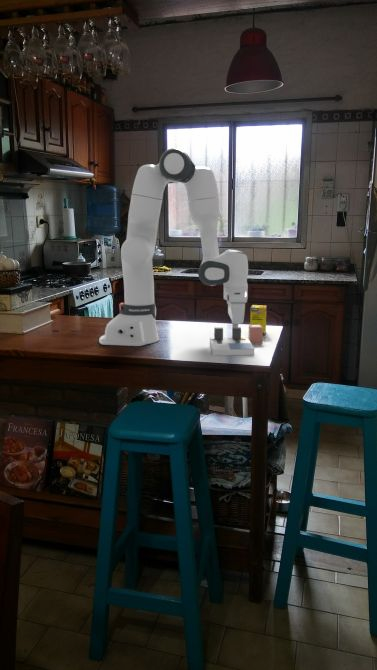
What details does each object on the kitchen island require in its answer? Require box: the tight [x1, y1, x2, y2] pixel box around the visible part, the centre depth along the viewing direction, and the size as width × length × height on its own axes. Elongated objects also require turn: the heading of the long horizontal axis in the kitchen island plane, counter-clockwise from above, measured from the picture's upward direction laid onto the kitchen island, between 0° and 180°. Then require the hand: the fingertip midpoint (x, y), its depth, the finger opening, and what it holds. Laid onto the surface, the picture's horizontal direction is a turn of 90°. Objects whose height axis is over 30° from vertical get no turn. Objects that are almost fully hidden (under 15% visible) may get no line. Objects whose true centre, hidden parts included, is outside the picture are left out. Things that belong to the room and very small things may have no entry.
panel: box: [209, 337, 255, 356], centre depth 190 cm, size 14×17×2 cm
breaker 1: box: [213, 326, 224, 340], centre depth 195 cm, size 3×2×4 cm
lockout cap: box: [248, 324, 264, 344], centre depth 200 cm, size 4×4×6 cm
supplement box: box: [249, 304, 267, 336], centre depth 213 cm, size 6×6×11 cm
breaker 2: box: [231, 326, 242, 340], centre depth 195 cm, size 3×2×4 cm
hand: (235, 331), depth 201 cm, fingers closed
